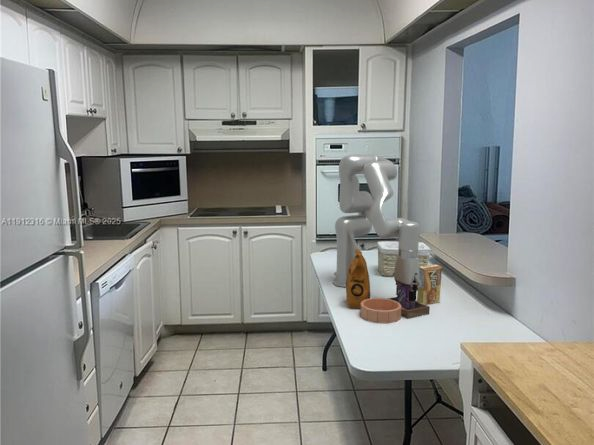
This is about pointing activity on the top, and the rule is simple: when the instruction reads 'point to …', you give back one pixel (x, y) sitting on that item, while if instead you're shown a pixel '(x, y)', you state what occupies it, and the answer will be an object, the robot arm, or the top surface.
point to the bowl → (380, 310)
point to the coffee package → (357, 281)
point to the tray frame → (414, 310)
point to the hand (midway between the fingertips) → (406, 297)
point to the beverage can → (404, 296)
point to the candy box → (429, 284)
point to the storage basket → (389, 254)
